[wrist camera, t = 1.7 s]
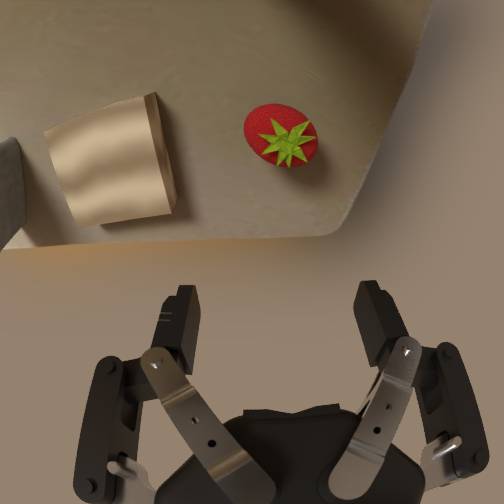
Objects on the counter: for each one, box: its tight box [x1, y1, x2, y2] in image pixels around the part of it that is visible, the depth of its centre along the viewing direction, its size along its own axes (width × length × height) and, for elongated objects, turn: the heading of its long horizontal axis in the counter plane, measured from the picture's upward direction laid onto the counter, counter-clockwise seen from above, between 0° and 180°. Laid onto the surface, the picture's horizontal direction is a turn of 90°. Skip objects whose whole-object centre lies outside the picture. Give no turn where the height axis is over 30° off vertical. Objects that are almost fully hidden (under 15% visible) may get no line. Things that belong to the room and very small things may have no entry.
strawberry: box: [244, 104, 318, 168], centre depth 25 cm, size 6×8×10 cm
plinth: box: [44, 92, 178, 228], centre depth 29 cm, size 14×14×4 cm
